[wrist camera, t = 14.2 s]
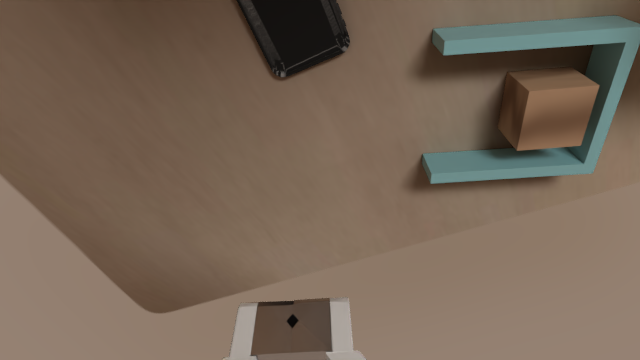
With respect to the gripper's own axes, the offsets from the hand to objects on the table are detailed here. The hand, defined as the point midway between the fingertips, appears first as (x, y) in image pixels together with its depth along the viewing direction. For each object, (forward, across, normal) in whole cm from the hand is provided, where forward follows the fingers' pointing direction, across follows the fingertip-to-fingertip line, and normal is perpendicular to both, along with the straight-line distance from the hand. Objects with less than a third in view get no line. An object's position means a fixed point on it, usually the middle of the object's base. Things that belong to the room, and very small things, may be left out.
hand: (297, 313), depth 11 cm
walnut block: (+31, -22, +8) cm, 39 cm away
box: (+31, -19, +8) cm, 37 cm away
